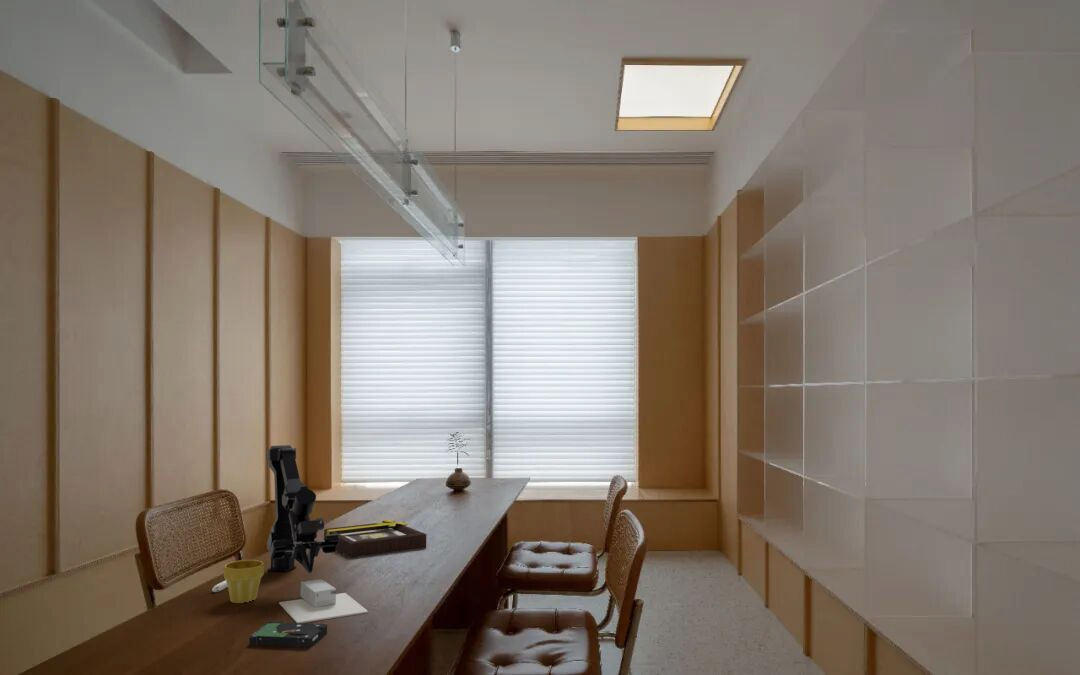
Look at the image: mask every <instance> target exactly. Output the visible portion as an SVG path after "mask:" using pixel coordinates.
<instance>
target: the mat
mask: <svg viewBox="0 0 1080 675" xmlns="http://www.w3.org/2000/svg"><path fill="white" fill-rule="evenodd" d="M279 605H280V607H281V608H283V610H284V611H285V612H286V613H287V614H288V615H289V616H290V617H291V619H292V620H293V621H294V623H311V622H319V621H324V620H331V619H336V618H342V617H343V618H344V617H349V616H356V615H362V614H368V613H369V611H368V610H367V609H366V608H365V607H363V606H362V604H360V603H359V602H357V601H356V600H355V599H354V598H353V597H351V596H350V595H349V594H347V592H342V593H336V604H331V605H326V606H320V607H313V606H312V605H311V604H309V603H308V602H307V601H306V600H304V599H303V598H300V599H293V600H286V601H280V602H279Z"/></svg>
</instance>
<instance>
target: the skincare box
mask: <svg viewBox="0 0 1080 675" xmlns="http://www.w3.org/2000/svg"><path fill="white" fill-rule="evenodd" d="M336 594H337V588H335V587H334V586H332V585H331V584H330V583H328V582H327V581H325V580H323V579H322V578H321V579H320V578H319V579H312V580H306V581H301V582H300V597H301V599H304V600H306V601H307V602H308V603H309V604H311V605H312V606H313V607H320V606H326V605H331V604H336Z"/></svg>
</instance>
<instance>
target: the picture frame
mask: <svg viewBox="0 0 1080 675" xmlns="http://www.w3.org/2000/svg"><path fill="white" fill-rule="evenodd" d="M408 525H409V523H406V522H400V521H393V520H390V519H384V520H382V521H381V522H376V523H375V522H373V523H366V524H365V523H364V524H356V525H348V526H339V527H330V528H325V529H323V538H324V537H325V535H332V534H337V535H338V536H339V538H340V543H339V546H338V549H337V551H338V550H339V551H338V552H340V553H341V552H342V554H343V553H344V554H343V555H345V554H346V555H345V556H347V557H349V558H351V557H352V558H359V556H360V557H366V556H373V555H374V556H375V555H381V554H390V553H395V552H402V551H403V552H404V551H410V550H418V549H425V548H427V534H426V533H424V532H422V531H419V530H417V529H415V528H412V527H410V526H408Z"/></svg>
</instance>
